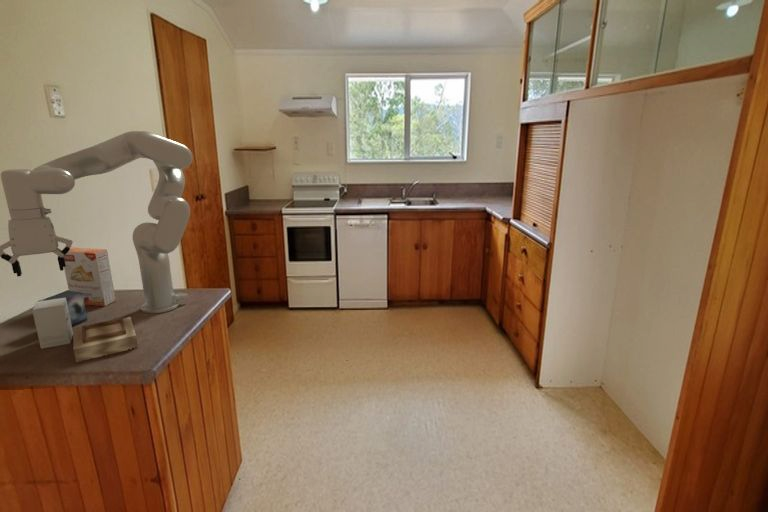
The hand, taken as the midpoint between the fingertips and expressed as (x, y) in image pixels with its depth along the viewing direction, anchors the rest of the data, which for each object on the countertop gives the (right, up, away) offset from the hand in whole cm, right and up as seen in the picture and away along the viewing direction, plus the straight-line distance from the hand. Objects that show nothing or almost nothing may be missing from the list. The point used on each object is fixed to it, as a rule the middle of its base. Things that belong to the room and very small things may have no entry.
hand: (41, 272), depth 120 cm
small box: (-5, -19, +17) cm, 26 cm away
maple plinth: (+16, -22, +5) cm, 27 cm away
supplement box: (0, -22, +6) cm, 23 cm away
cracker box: (-9, -13, +35) cm, 39 cm away
